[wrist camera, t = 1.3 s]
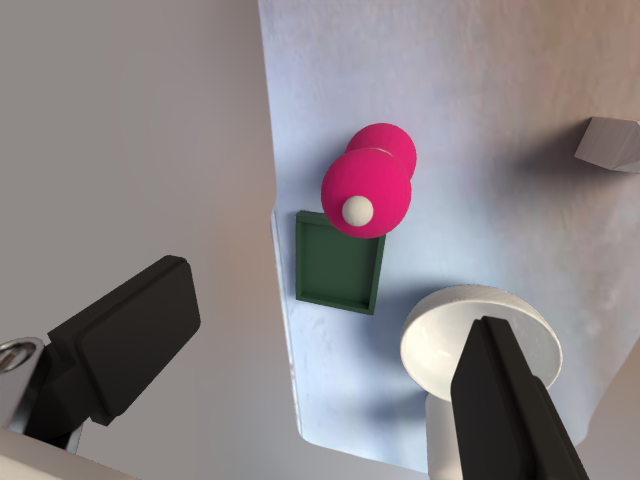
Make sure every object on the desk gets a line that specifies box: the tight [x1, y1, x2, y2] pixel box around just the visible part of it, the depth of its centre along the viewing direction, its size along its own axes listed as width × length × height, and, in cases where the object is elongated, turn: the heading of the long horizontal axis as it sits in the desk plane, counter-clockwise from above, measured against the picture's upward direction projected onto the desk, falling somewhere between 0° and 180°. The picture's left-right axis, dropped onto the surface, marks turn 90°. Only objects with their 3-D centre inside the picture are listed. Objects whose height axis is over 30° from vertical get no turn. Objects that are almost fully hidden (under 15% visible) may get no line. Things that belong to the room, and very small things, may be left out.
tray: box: [296, 210, 386, 316], centre depth 40 cm, size 14×12×2 cm
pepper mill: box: [321, 123, 417, 239], centre depth 25 cm, size 7×7×20 cm
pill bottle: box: [425, 393, 463, 480], centre depth 41 cm, size 8×8×15 cm
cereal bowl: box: [400, 284, 562, 403], centre depth 37 cm, size 17×17×7 cm
